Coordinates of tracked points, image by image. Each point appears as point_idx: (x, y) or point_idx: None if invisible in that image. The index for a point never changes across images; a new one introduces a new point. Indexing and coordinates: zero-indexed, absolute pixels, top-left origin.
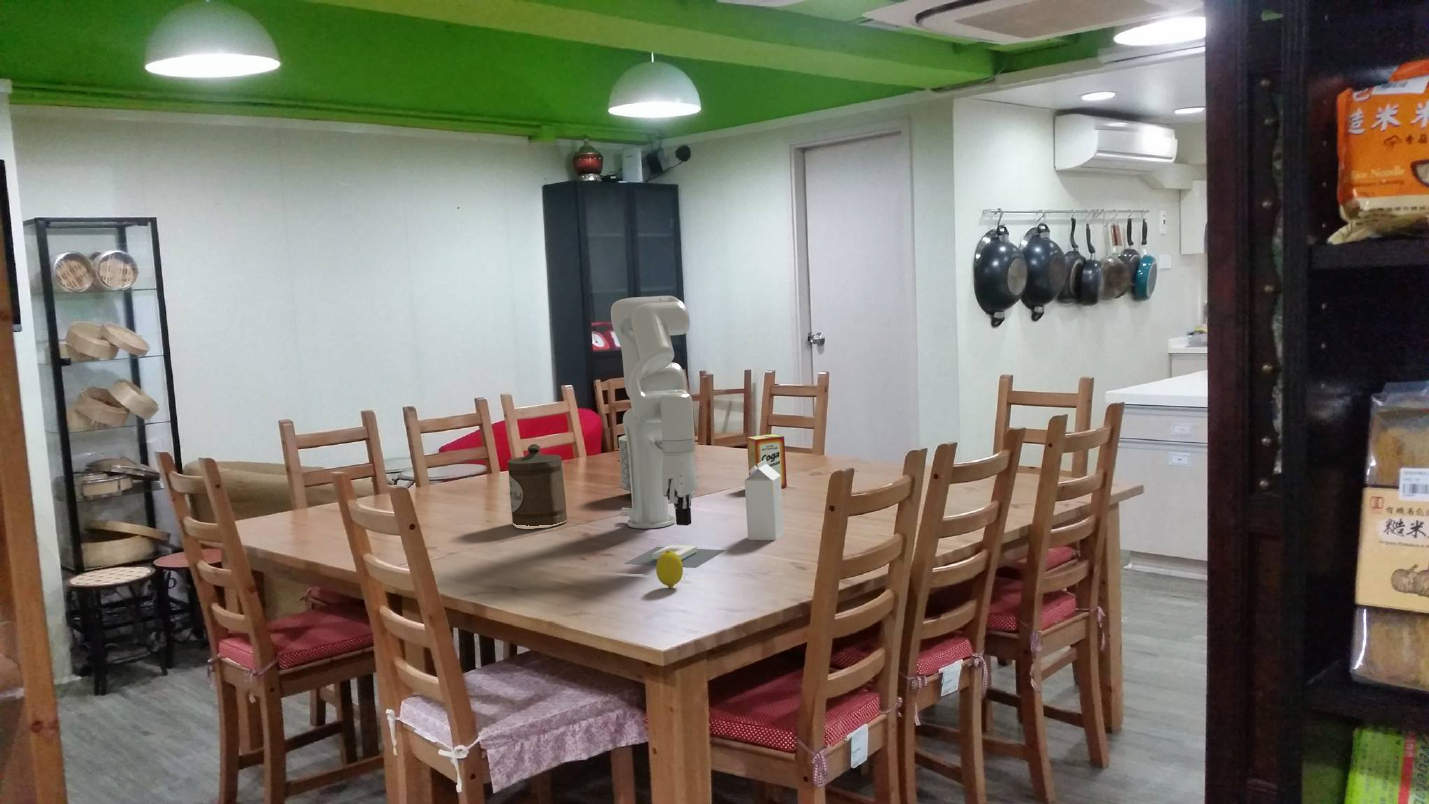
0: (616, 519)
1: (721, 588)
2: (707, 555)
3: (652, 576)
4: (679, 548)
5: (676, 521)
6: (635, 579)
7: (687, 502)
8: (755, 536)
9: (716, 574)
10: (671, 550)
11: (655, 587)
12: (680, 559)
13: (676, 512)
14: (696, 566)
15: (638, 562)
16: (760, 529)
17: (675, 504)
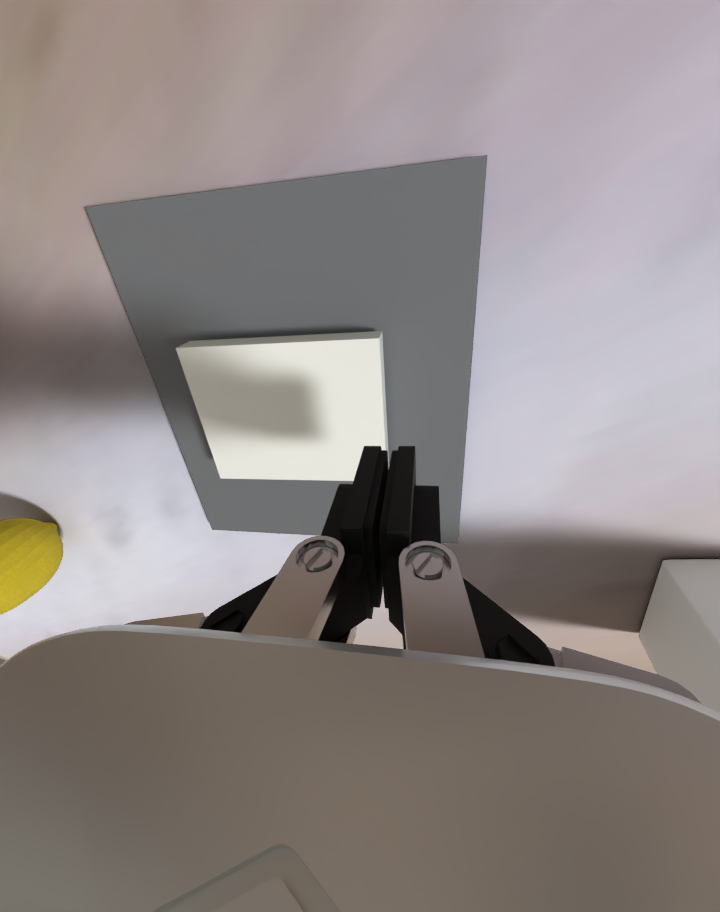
0: None
1: (134, 613)
2: None
3: (86, 428)
4: (320, 428)
5: (360, 459)
6: (22, 390)
7: (404, 648)
8: (665, 600)
9: (215, 579)
10: (273, 409)
11: (27, 487)
12: (6, 611)
13: (350, 507)
14: (224, 527)
15: (143, 280)
16: (675, 645)
17: (251, 602)
